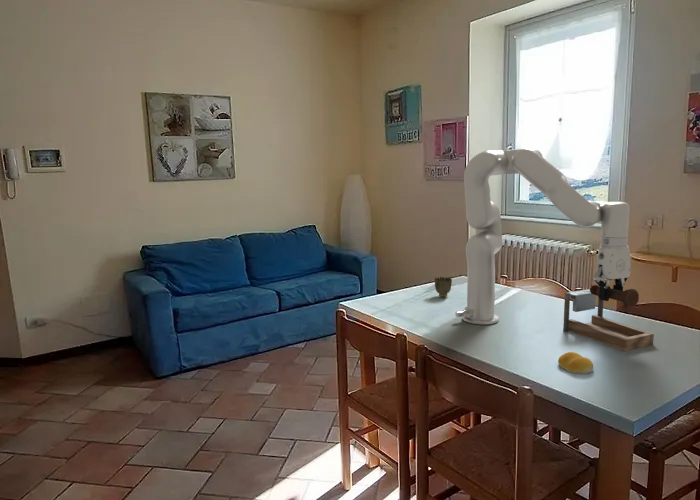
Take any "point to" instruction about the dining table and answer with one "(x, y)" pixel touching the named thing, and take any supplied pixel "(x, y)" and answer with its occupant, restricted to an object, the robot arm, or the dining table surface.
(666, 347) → the dining table surface
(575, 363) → the bread roll
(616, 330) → the cradle
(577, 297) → the gate
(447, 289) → the cup
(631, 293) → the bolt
